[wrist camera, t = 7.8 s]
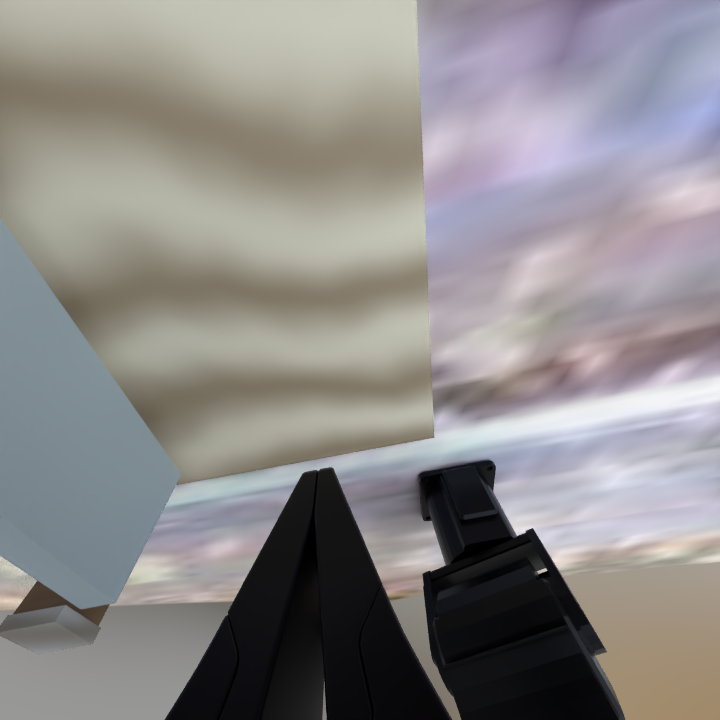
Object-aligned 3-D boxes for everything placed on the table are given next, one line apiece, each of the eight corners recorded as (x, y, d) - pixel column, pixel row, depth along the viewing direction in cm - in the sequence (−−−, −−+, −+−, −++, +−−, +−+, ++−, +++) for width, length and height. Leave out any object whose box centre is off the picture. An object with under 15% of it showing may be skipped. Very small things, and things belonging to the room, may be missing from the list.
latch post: (177, 479, 22) (92, 644, 14) (141, 486, 22) (37, 654, 14) (159, 455, 20) (55, 621, 13) (122, 462, 20) (-6, 633, 13)
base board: (430, 428, 23) (434, 437, 22) (123, 484, 23) (114, 496, 22) (401, -155, 10) (408, -188, 9) (-324, -23, 10) (-387, -43, 9)
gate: (-122, 127, 10) (-790, 39, 4) (-64, 117, 10) (-643, 14, 4) (154, 479, 20) (76, 610, 13) (184, 473, 20) (119, 602, 13)
